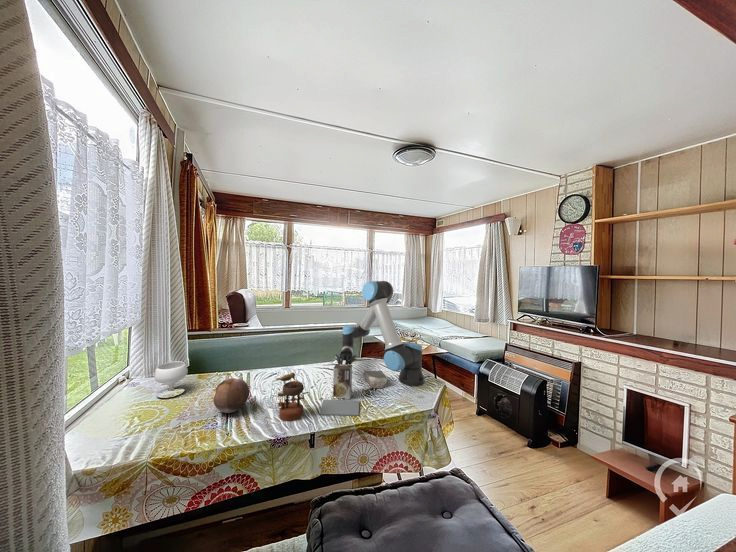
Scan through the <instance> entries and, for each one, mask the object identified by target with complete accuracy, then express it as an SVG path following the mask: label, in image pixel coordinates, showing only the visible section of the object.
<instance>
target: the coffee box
mask: <svg viewBox="0 0 736 552" xmlns="http://www.w3.org/2000/svg"><path fill="white" fill-rule="evenodd" d="M332 371H333V381H332V382H333V384H332V386H333V389H332V393H333V394H332V398H333V397H336V398H335V399H337V398H345V399H344V400H351V397H352V395H351V394H353V393H352V391H353V390H352V388H353V387H352V385H353V384H352V383H353V364H350V365H349V364H338V363H336V364H335V365H334V367H333V370H332Z"/></svg>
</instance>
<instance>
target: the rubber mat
mask: <svg viewBox="0 0 736 552" xmlns="http://www.w3.org/2000/svg"><path fill="white" fill-rule="evenodd" d="M359 412H360V400H356V399H355V400H353V399H323V400H322V404H321V407H320V411H319V413H318V415H319V416H334V417H335V416H337V417H339V416H341V417H342V416H343V417H345V416H346V417H348V416H349V417H359V414H360V413H359Z"/></svg>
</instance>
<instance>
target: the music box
mask: <svg viewBox="0 0 736 552" xmlns="http://www.w3.org/2000/svg"><path fill="white" fill-rule="evenodd" d="M292 379H293V380H292ZM290 380H292V381H290ZM275 381H276V382H277V381H280V384H282V382H284V383H283V386H282V389H280V391H279V392H280V393H277V397H279V402H278V407H279V410H278V411H279V412H278V413H279V415H278V416H279V419H280V420H281V421H284V422H294V421H297V420H299V419H301V418H302V417H303V416H304V405H303V404H301V403H300V401H301V400H302V399H303V400H305V396H304V395H305V394H310V392H309V391H306V392H304V389H305V387H304V386H305V385H304V384H303V383H302V382H301V381H297V380H296V374H295V372H290V374H289V373H288V374H287V373H286V374H285V375H282V376H281V377H277V378H276V379H275ZM301 393H302V397H301V396H300V394H301ZM295 396H296V397H297V398H296V397H295ZM282 397H286V398H284V402H282ZM289 397H291V399H290V398H289ZM296 400H297V401H296ZM290 401H291V402H290Z"/></svg>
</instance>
